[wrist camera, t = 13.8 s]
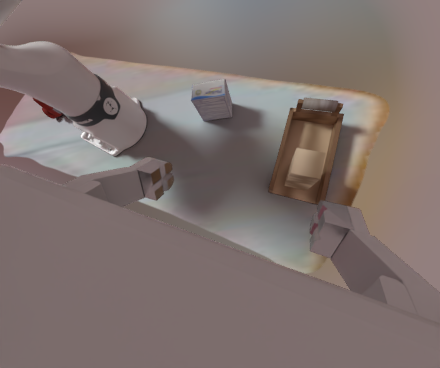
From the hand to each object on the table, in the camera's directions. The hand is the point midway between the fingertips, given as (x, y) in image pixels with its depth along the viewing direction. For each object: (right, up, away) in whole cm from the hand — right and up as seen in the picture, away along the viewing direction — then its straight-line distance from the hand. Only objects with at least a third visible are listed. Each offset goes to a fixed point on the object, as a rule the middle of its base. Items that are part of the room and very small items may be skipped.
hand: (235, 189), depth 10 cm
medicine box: (-1, +19, +38) cm, 43 cm away
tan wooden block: (+16, +1, +29) cm, 33 cm away
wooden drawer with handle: (+17, +6, +30) cm, 35 cm away
